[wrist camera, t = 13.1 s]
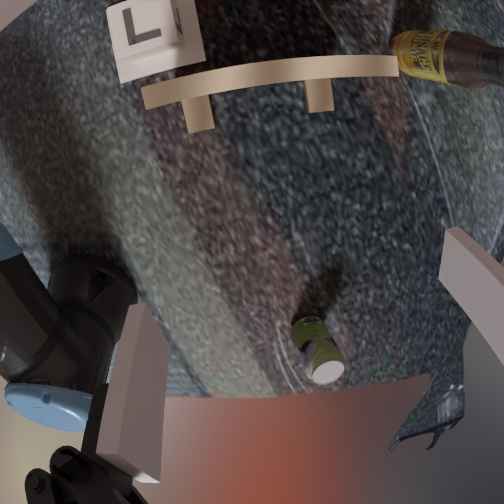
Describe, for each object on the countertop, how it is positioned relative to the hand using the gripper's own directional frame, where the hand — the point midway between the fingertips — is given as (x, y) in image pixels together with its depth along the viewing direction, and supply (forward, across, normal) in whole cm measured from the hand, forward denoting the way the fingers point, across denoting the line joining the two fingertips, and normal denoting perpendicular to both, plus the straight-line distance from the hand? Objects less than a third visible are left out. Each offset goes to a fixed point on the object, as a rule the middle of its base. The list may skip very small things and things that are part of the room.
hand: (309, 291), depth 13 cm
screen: (+28, -2, -6) cm, 28 cm away
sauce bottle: (+28, -22, -9) cm, 37 cm away
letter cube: (+27, +7, -16) cm, 32 cm away
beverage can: (+28, -4, +31) cm, 42 cm away
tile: (+28, +7, -16) cm, 33 cm away
